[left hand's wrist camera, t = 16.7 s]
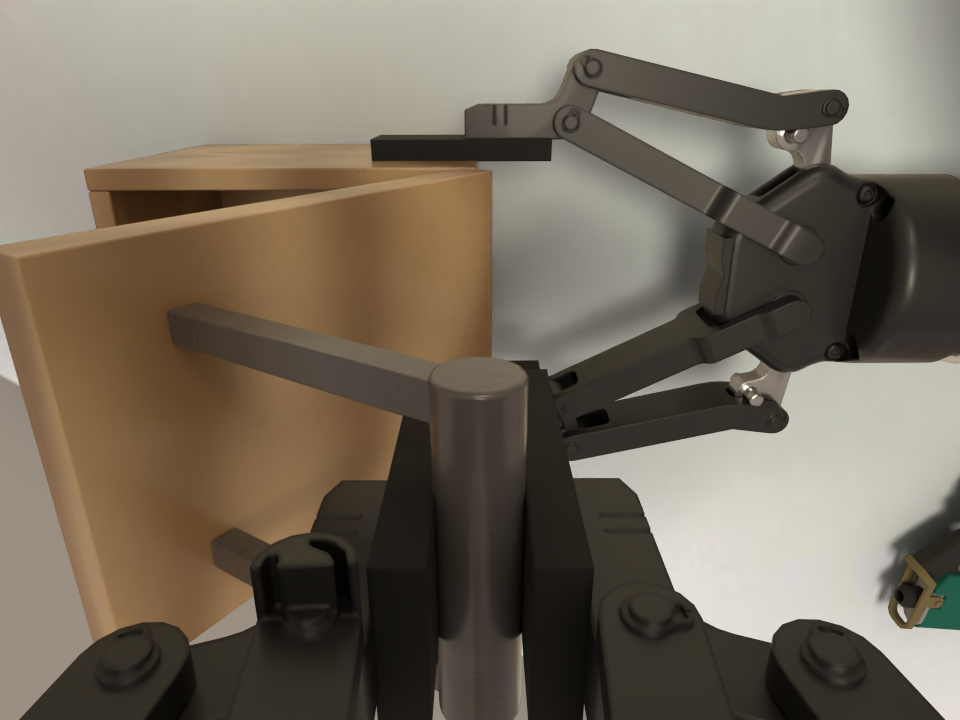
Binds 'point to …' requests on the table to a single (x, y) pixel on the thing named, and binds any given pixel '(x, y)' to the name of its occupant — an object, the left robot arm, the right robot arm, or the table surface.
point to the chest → (237, 178)
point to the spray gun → (930, 587)
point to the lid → (277, 402)
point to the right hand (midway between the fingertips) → (384, 272)
